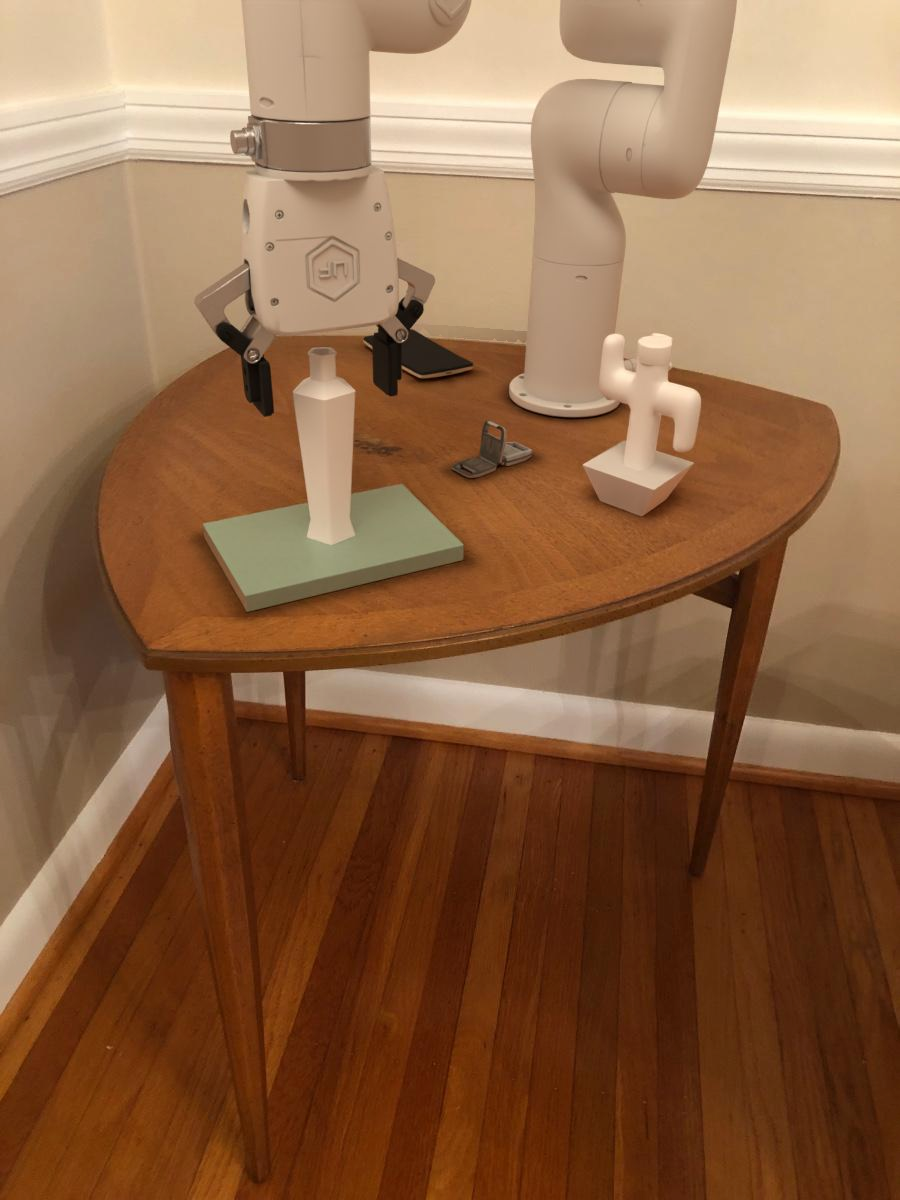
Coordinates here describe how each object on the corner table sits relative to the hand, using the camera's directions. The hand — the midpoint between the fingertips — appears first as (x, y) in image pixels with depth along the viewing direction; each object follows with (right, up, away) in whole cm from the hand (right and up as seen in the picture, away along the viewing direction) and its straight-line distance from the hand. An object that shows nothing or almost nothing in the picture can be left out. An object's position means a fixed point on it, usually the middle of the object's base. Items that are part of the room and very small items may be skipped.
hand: (325, 399), depth 70 cm
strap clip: (+13, -2, +22) cm, 25 cm away
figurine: (+26, -6, +16) cm, 31 cm away
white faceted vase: (0, -10, +6) cm, 12 cm away
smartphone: (+5, +15, +46) cm, 49 cm away
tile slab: (0, -11, +7) cm, 13 cm away
